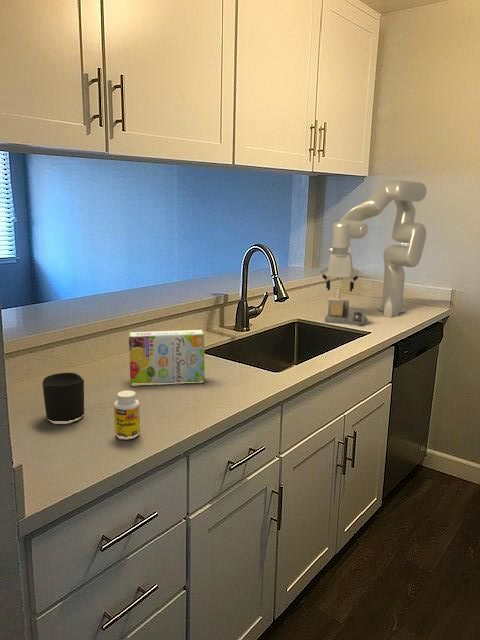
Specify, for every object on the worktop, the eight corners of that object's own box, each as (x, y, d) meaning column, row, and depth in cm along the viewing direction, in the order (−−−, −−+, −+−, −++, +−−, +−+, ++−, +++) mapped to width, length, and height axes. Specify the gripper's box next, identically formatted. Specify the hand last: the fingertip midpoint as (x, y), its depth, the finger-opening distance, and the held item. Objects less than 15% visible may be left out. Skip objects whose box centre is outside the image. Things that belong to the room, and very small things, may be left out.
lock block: (332, 314, 238) (333, 300, 236) (343, 315, 236) (344, 301, 235) (330, 317, 231) (331, 303, 230) (341, 318, 230) (342, 304, 228)
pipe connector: (349, 312, 249) (351, 291, 247) (328, 312, 249) (329, 291, 247) (345, 308, 259) (347, 288, 257) (325, 307, 259) (326, 287, 257)
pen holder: (92, 411, 132) (90, 374, 130) (74, 427, 123) (72, 387, 121) (57, 408, 134) (54, 371, 132) (37, 424, 125) (34, 384, 123)
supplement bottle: (113, 441, 117) (111, 398, 114) (117, 430, 122) (115, 389, 120) (138, 441, 117) (137, 398, 115) (141, 430, 123) (140, 388, 120)
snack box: (202, 377, 159) (202, 328, 155) (204, 384, 153) (204, 333, 150) (130, 380, 155) (128, 330, 151) (130, 387, 150) (128, 336, 146)
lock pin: (355, 315, 235) (355, 307, 234) (363, 316, 234) (364, 308, 234) (352, 322, 222) (353, 314, 221) (361, 323, 221) (361, 314, 220)
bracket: (328, 316, 241) (329, 300, 239) (365, 319, 236) (366, 302, 235) (324, 322, 229) (325, 305, 228) (363, 325, 225) (365, 308, 223)
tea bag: (398, 315, 245) (400, 294, 243) (391, 317, 240) (392, 296, 238) (390, 314, 247) (392, 293, 245) (383, 316, 243) (385, 295, 240)
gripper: (319, 252, 226) (318, 291, 230) (360, 252, 221) (359, 292, 226) (322, 249, 233) (321, 287, 237) (362, 250, 228) (360, 289, 233)
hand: (339, 290), depth 231 cm, fingers open, 9 cm apart
